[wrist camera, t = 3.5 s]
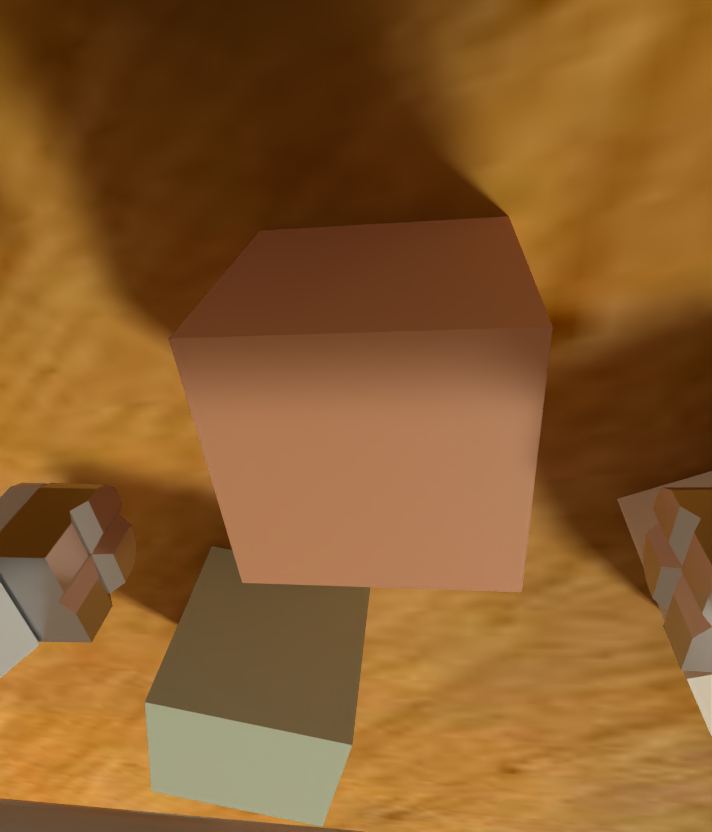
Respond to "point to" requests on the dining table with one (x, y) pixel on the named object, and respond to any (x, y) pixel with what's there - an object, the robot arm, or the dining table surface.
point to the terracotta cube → (373, 403)
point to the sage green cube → (258, 694)
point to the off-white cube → (640, 519)
